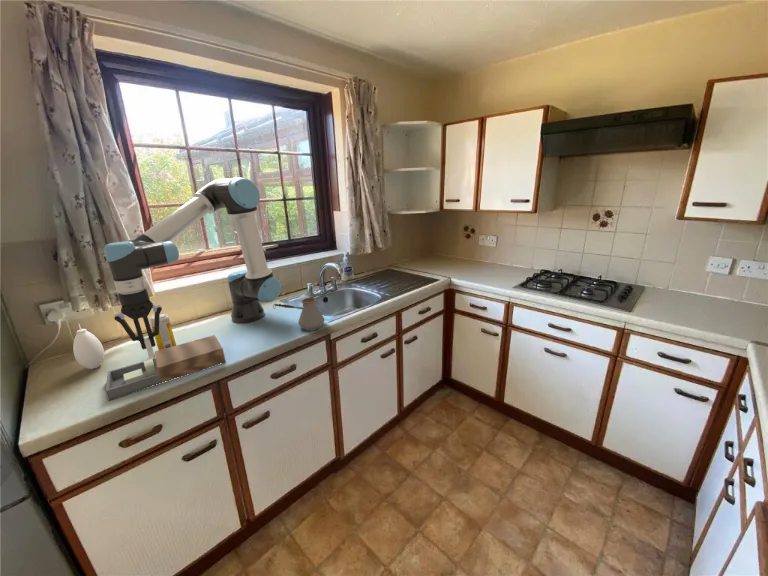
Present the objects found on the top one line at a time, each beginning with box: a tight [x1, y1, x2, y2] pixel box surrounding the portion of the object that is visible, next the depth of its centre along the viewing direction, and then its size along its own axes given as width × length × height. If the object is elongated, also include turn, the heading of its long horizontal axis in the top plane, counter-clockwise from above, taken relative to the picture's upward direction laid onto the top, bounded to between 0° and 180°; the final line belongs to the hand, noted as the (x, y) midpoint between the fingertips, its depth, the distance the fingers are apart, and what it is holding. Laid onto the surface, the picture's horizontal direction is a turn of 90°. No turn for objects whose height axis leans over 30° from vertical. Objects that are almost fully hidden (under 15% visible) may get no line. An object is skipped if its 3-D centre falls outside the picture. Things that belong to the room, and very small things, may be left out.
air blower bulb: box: [72, 322, 105, 370], centre depth 119 cm, size 8×8×18 cm
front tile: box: [123, 369, 144, 384], centre depth 111 cm, size 5×5×2 cm
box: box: [105, 357, 163, 401], centre depth 111 cm, size 14×14×4 cm
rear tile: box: [144, 358, 156, 377], centre depth 113 cm, size 5×5×2 cm
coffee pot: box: [272, 297, 325, 332], centre depth 143 cm, size 21×12×15 cm, turn 126°
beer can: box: [149, 312, 177, 351], centre depth 130 cm, size 6×6×15 cm
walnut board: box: [154, 334, 227, 383], centre depth 120 cm, size 20×14×6 cm
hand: (151, 355), depth 112 cm, fingers closed
